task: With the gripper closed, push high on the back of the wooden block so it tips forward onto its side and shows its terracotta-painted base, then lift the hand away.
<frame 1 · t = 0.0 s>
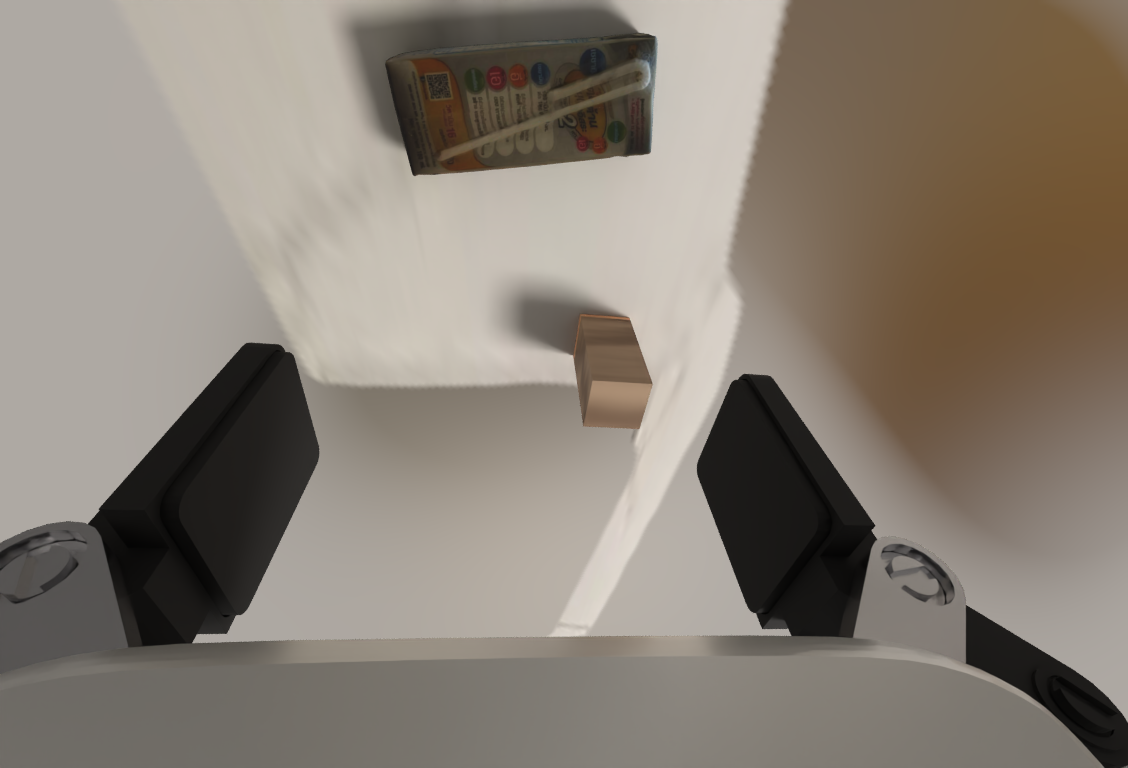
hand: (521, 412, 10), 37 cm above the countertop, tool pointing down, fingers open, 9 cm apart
wooden block: (600, 337, 53), on the countertop
beverage carton: (526, 98, 39), on the countertop
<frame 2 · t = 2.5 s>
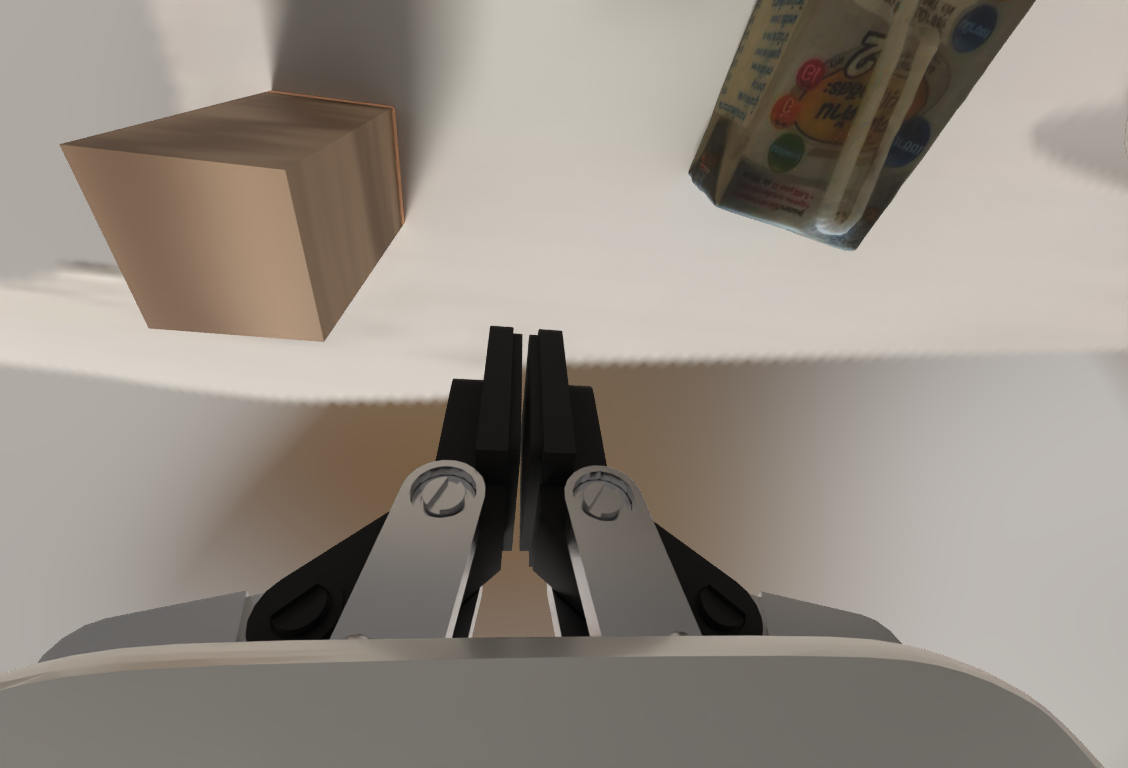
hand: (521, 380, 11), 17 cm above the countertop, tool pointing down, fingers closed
wooden block: (343, 161, 23), on the countertop
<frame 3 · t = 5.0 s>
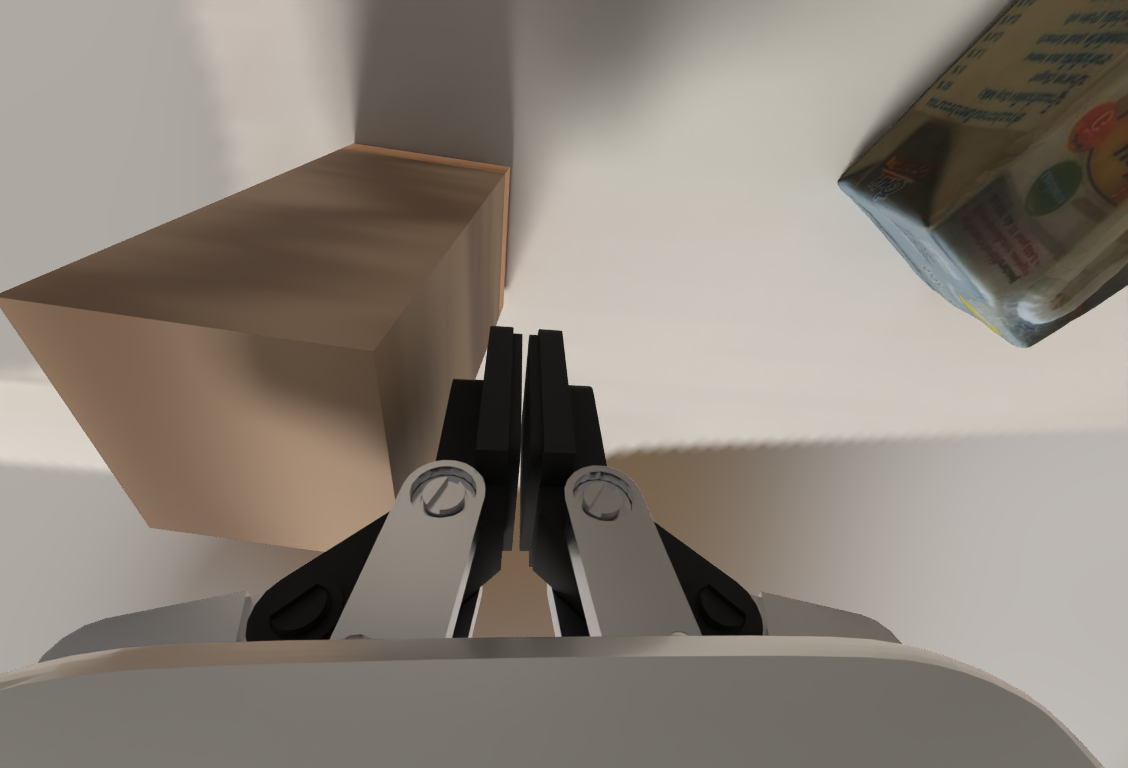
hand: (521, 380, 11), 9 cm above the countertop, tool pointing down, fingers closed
wooden block: (435, 232, 18), on the countertop, tilted 8°
beverage carton: (1126, 9, 16), on the countertop
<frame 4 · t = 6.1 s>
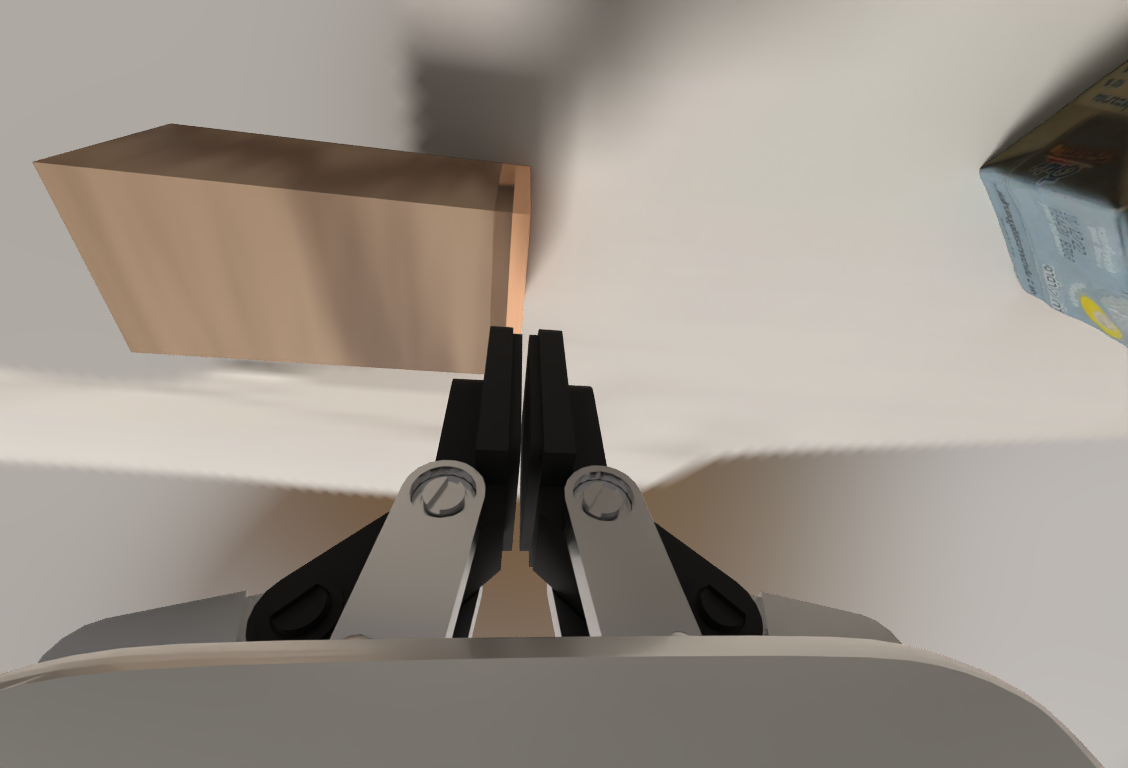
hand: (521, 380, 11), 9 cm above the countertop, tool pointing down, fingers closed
wooden block: (524, 268, 17), point 3 cm above the countertop, tilted 90°
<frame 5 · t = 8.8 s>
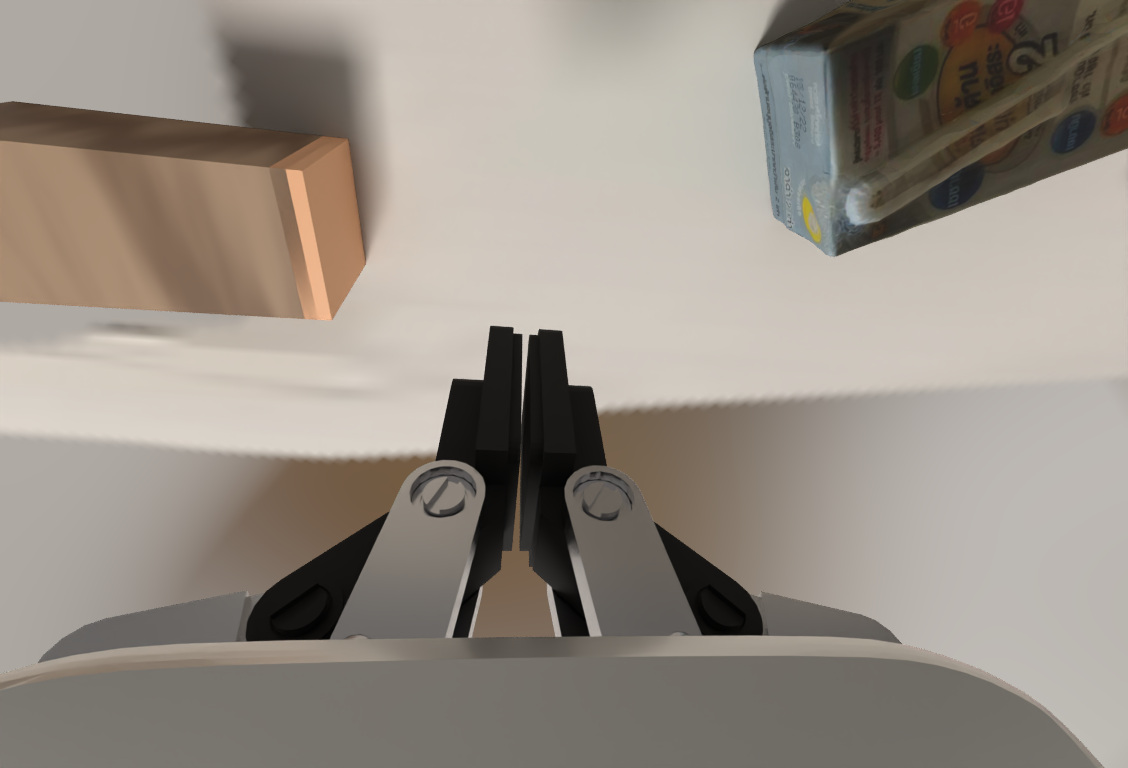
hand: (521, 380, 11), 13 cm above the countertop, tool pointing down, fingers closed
wooden block: (340, 227, 19), point 3 cm above the countertop, tilted 90°
beverage carton: (974, 42, 20), on the countertop
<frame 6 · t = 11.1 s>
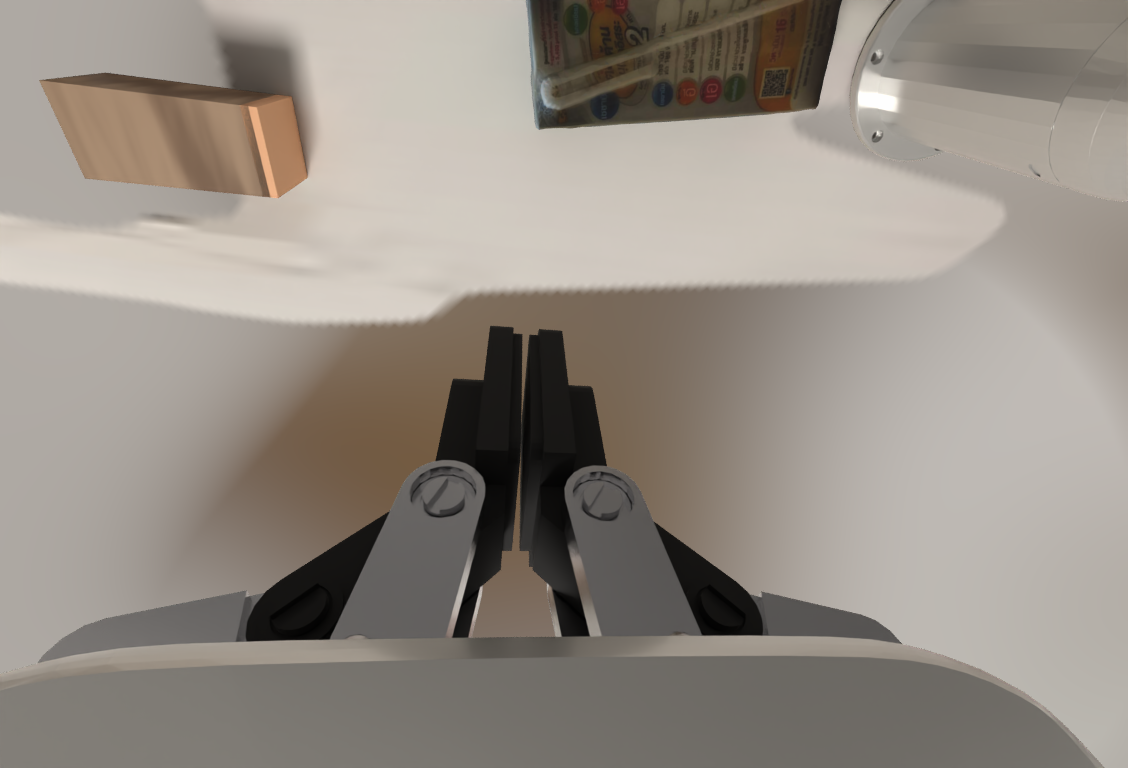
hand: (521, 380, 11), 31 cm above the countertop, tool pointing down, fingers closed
wooden block: (285, 146, 33), point 3 cm above the countertop, tilted 90°
beverage carton: (660, 48, 33), on the countertop
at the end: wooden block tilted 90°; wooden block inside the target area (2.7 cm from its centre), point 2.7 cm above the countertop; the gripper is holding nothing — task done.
